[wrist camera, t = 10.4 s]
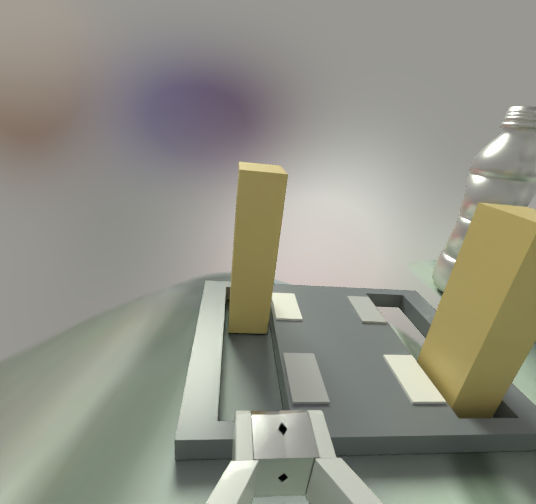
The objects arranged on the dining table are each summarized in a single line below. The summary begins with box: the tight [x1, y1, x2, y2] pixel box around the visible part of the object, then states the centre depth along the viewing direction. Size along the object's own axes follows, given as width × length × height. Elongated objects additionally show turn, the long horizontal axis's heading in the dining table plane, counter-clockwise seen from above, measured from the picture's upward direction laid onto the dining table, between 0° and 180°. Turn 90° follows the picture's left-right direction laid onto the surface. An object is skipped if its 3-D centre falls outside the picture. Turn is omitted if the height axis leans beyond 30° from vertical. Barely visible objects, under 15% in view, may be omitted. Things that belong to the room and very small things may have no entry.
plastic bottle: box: [432, 107, 536, 292], centre depth 32 cm, size 6×7×20 cm
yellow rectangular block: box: [417, 202, 536, 418], centre depth 19 cm, size 4×3×13 cm
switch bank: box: [175, 281, 536, 460], centre depth 24 cm, size 16×22×2 cm
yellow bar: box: [228, 162, 288, 334], centre depth 24 cm, size 4×3×13 cm
